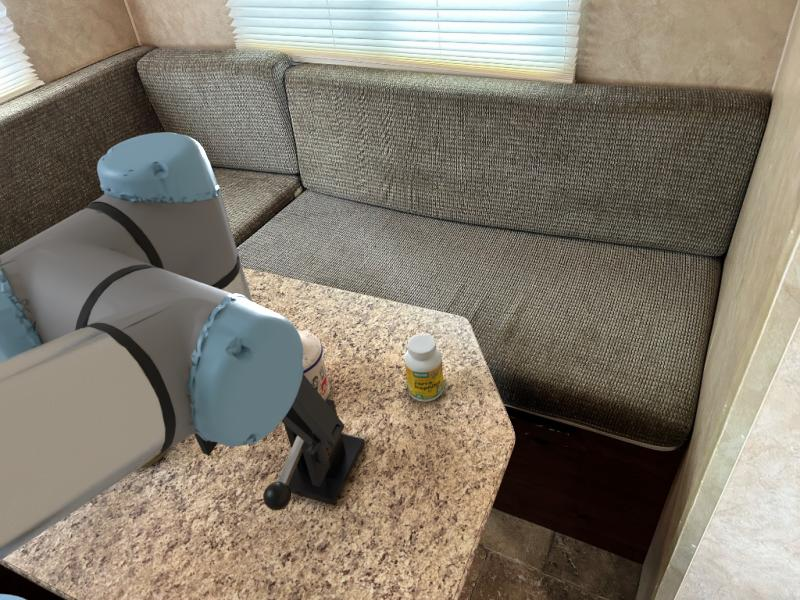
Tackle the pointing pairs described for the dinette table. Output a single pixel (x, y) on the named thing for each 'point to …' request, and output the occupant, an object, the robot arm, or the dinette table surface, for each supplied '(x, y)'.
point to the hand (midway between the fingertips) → (265, 459)
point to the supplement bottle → (424, 368)
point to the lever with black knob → (283, 480)
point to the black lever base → (337, 473)
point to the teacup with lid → (314, 363)
